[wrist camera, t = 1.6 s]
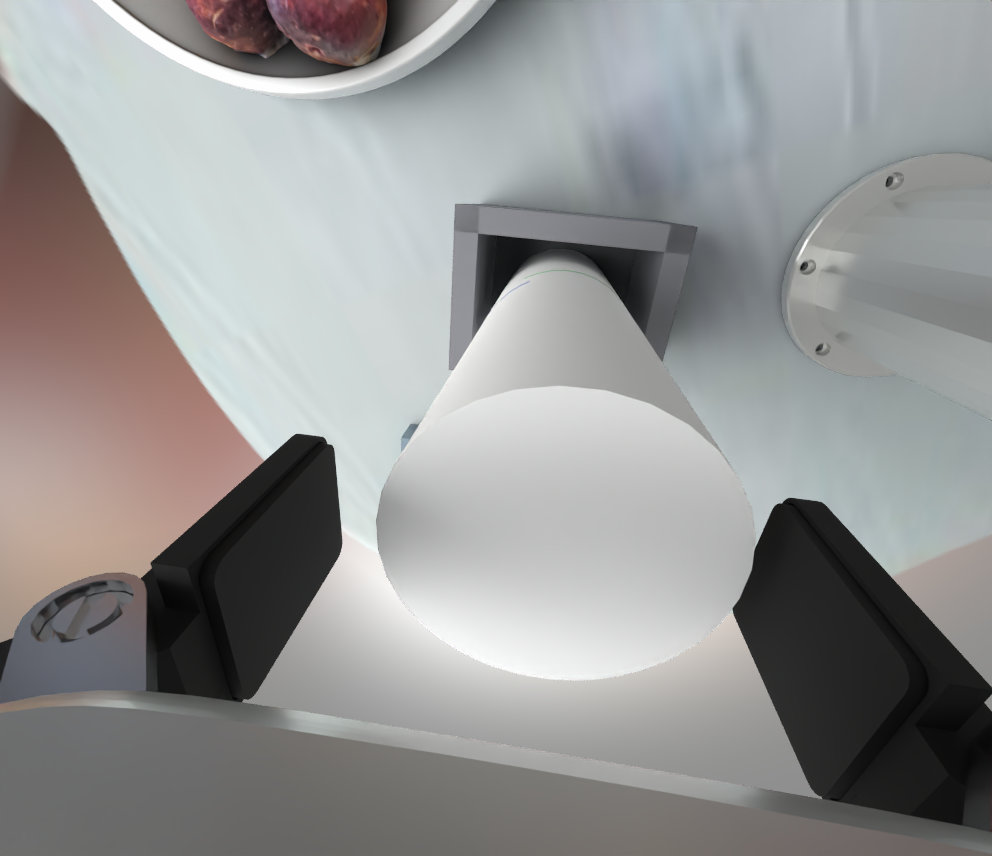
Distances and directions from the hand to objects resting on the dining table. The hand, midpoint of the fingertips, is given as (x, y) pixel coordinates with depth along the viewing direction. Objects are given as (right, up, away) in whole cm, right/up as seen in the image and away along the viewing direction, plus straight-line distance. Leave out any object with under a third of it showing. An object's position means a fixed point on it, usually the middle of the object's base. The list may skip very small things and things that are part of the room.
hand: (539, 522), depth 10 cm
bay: (+3, +12, +21) cm, 24 cm away
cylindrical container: (+3, +11, +21) cm, 24 cm away
